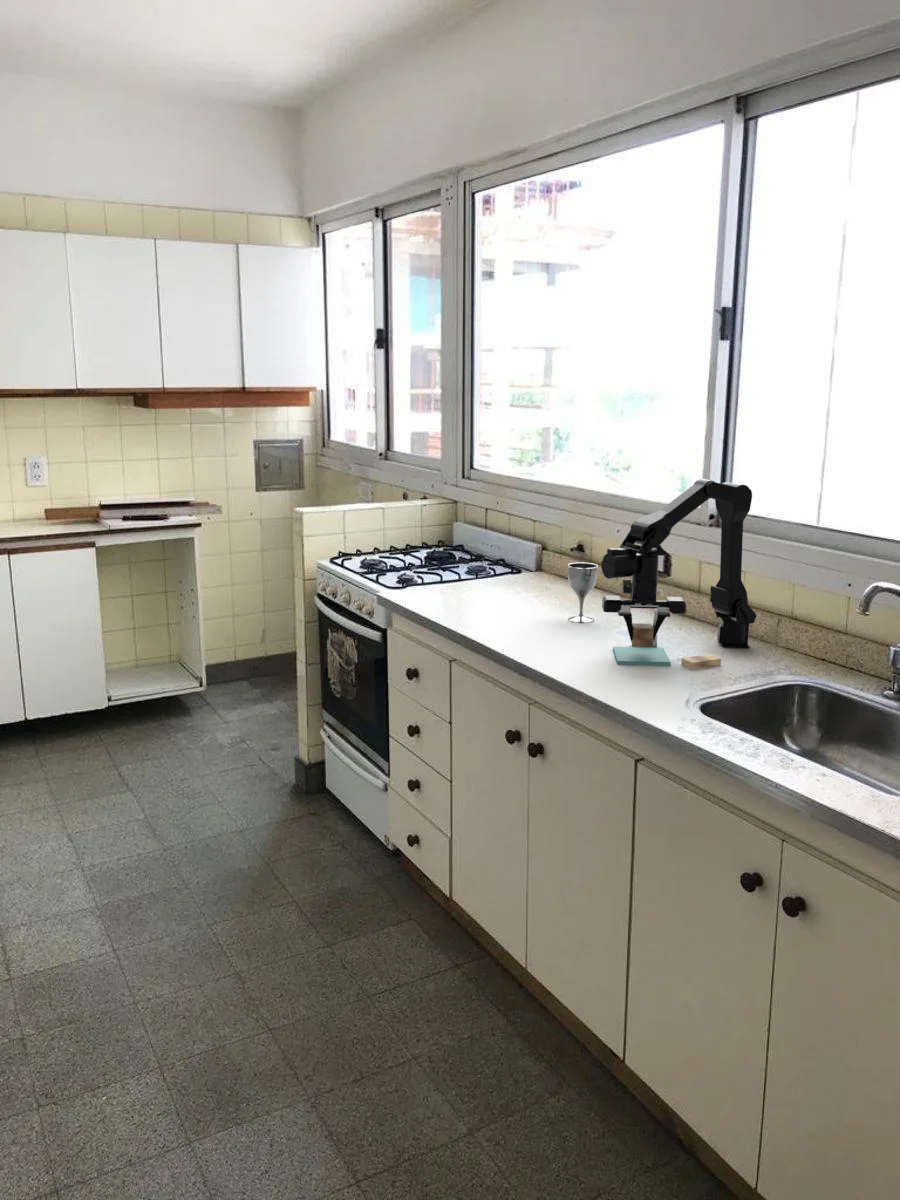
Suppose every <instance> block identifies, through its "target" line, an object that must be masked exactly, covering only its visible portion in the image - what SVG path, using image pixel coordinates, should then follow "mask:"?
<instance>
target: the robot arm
mask: <svg viewBox="0 0 900 1200" xmlns="http://www.w3.org/2000/svg"><path fill="white" fill-rule="evenodd" d="M752 498H753V492H752V489H751V488H750V487H749V486H748V485H746V484H743V483H742V484H741V483H736V482H729V481H728V482H727V481H725V482H722V483H721V482H720V483H719V482H716V481H714V480H712V479H704V478H701V479H698V480H696V481H694V483H693V485H691V486H690V487H689V488H687V489H686V490H685V491H684V492H682V493H681V494H680V495H678V496H677V497H676V498H674V499H673V500H672V501H670V502H669V503H668V504H666V505H665V506H664V507H663V508H661V509H659V510H658V511H656V512H654V513H653V512H652V513H650V514H646V515H644V516H642V517H640V518H639V519H637V520H635V521H633V522H632V524H631V525H630V530H629V531H628V533H627V535H626V536H625V537H624V540H622V542H621V544H620V545H619V548H618V547H617V548H613V547H608V548H607V550H606V554H604V555H603V558H602V560H601V563H600V567H601V572H602V575H603V577H605V578H606V579H608V580H609V579H619V578H620V579H621V578H630V577H632V578H631V579H623V580H622V586H621V587H622V594H624V595H626V594H627V595H629V599H621V597H620V595H604V596H603V597H602V600H601V601H602V602H601V608H602V611H603V612H604V613H617V614H618V616H620V617H623V619H624V622H625V624H626V628H627V632H628V635H629V639H630V642H631V641H632V640H633V626H632V623H633V616H632V612H631V609H654V611H653V612H654V613H653V615H654V616H653V620H652V621H653V622H652V626H653V628H654V632H653V641H654V639H655V637H656V634H657V635H658V632H659V630H660V627H661V626H662V624H663V623H664V621H665V620H666V618H670V617H671V614H675V615H676V614H681V615H683V614H686V613H687V602H686V601H685V600H684V599H683V597H682V596H666V597H665V600H658V598H657V596H658V595H657V594H658V579H659V578H658V575H659V572H658V571H659V557H660V556H667V554H668V552H667V551H666V550H665V549H664V548H663V547H662V543H663V542H665V540H667V538H668V537H669V536H670V535H671V532H672V529H673V528H674V527H675V526H676V525H677V524H678V523H679V522H681V521H682V520H683V519H684V518H686V517H687V516H688V515H690V514H691V513H693V512H694V511H695V510H696V509H697V508H699V507H701V505H703V504H704V503H706V502H707V501H708V500H709V499H710V500H711V499H713V500H714V503H715V510H716V512H717V514H718V517H719V518H720V520H721V534H720V565H719V566H720V567H719V570H720V572H719V580H718V581H717V582H716V585H711V586H710V589H709V591H710V599H709V603H711V607H712V609H713V610H714V612H715V613H714V614H715V616H716V618H718V619H720V624H717V625H718V626H717V642H718V643H719V645H720V646H721V647H723V648H740V649H741V648H742V649H743V648H746V649H748V648H750V644H749V632H750V624H754V623H755V621H756V619H757V613H756V612H755V611H754V610H753V609H752V607H751V606H750V605H749V598H748V592H747V589H746V587H745V585H744V582H743V581H742V564H743V563H742V562H743V561H742V560H743V537H744V535H743V534H744V521H745V519H746V517H747V515H748V514H749V513H750V510H751V507H752V506H751V505H752ZM670 612H671V613H670Z"/></svg>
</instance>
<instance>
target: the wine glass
mask: <svg viewBox="0 0 900 1200" xmlns="http://www.w3.org/2000/svg"><path fill="white" fill-rule="evenodd" d="M598 569H599V567H598V564H596V563H591V562H570V563H568V564H567V578H568V579H567V580H568V584H569V587H570V589H571V590H572V591H574V593H575V595H576V596H577V598H578V600H579V601H578V602H579V615H576V616H571V617H568V618H567V621H569V622H571V623H577V624H589V623H592V622H594V621H595V619H594V618H593V617H590V616H585V615H584V614H583V613H584V612H583V609H584V603H585V600H586V597H587V595H588V594H589V593H590V592H591V591H592V590H593V588H595V585H596V583H597V578H598Z"/></svg>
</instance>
